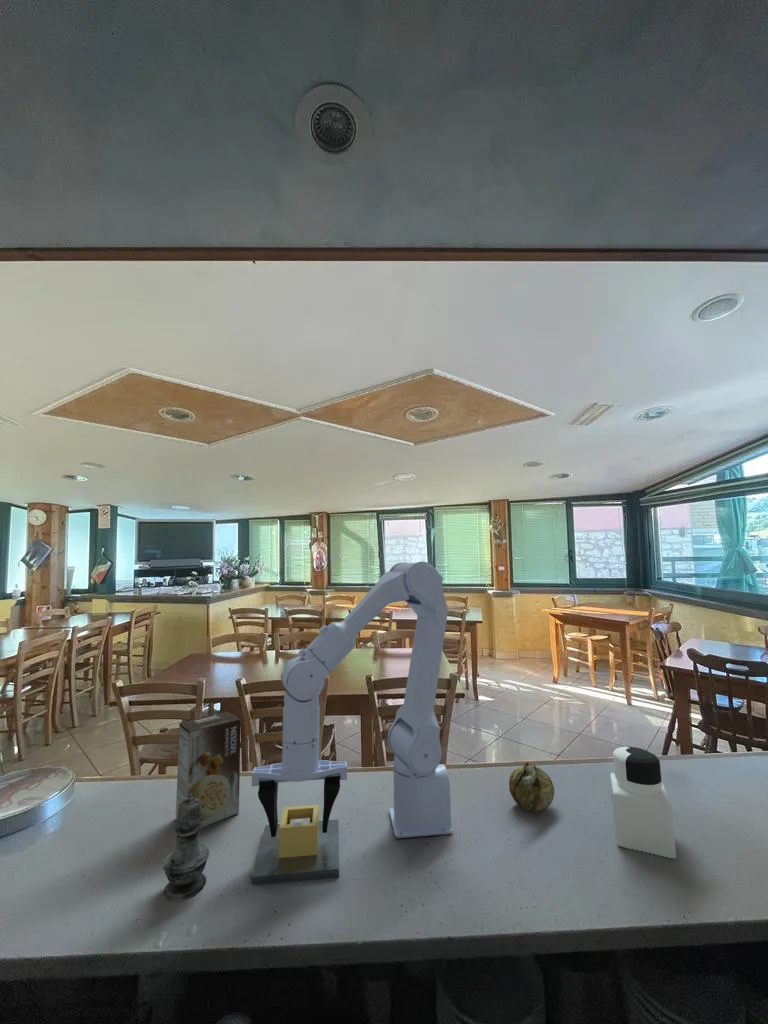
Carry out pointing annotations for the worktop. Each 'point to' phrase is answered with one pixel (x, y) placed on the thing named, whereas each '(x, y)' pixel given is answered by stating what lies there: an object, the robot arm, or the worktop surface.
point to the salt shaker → (186, 854)
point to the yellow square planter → (299, 831)
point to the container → (641, 803)
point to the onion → (531, 788)
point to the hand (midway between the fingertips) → (299, 830)
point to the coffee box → (210, 765)
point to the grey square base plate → (297, 858)
